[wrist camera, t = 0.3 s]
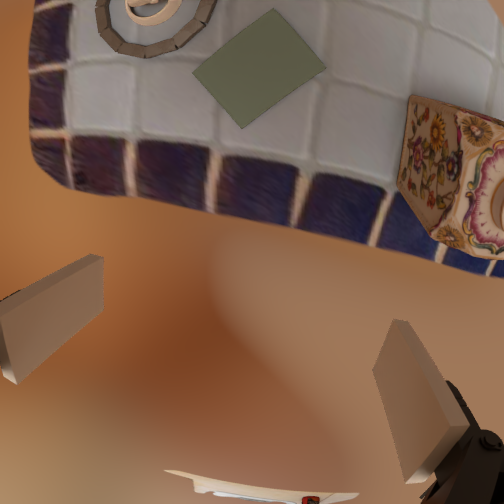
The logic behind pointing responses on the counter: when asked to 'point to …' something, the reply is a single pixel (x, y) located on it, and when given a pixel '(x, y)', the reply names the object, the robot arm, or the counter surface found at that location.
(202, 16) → the metal ring
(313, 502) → the canned food
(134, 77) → the counter surface
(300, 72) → the rubber mat
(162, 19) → the hook
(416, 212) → the decorative jar
